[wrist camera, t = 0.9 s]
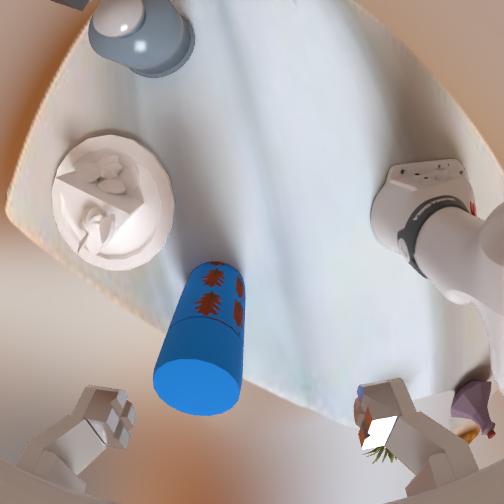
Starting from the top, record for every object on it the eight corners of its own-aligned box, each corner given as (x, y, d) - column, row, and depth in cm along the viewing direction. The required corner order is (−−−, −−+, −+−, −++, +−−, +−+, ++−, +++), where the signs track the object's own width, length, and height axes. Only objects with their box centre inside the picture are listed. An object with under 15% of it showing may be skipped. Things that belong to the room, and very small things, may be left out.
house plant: (376, 390, 69) (394, 439, 54) (413, 395, 71) (433, 439, 56) (346, 422, 74) (358, 470, 59) (383, 426, 76) (397, 469, 61)
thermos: (188, 256, 54) (148, 349, 31) (249, 264, 55) (246, 364, 32) (186, 308, 59) (154, 409, 36) (241, 315, 59) (236, 421, 36)
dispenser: (209, 30, 39) (189, -12, 23) (167, 89, 43) (125, 75, 27) (151, 3, 37) (111, -38, 21) (112, 60, 41) (55, 41, 25)
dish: (205, 206, 51) (193, 227, 41) (118, 290, 58) (96, 323, 47) (108, 105, 44) (75, 103, 34) (37, 205, 51) (2, 223, 40)
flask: (436, 401, 73) (460, 450, 54) (477, 364, 68) (508, 411, 49) (455, 412, 77) (477, 455, 58) (491, 380, 71) (518, 421, 53)
